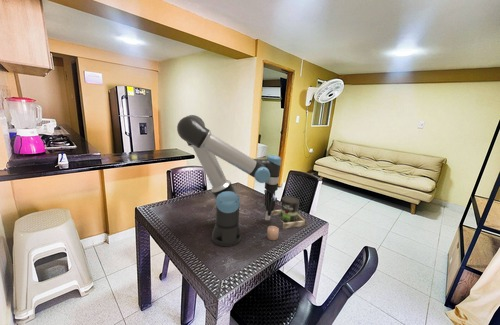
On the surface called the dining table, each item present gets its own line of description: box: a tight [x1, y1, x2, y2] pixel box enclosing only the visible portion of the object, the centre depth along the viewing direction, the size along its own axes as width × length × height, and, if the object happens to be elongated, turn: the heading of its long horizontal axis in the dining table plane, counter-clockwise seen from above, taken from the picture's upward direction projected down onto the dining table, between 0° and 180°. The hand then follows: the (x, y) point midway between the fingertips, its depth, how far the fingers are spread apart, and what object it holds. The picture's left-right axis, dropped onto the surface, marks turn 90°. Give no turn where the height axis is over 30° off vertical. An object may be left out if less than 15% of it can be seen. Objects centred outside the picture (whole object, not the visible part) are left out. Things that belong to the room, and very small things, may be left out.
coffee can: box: [279, 195, 300, 224], centre depth 128 cm, size 10×10×14 cm
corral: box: [271, 209, 307, 230], centre depth 130 cm, size 15×16×3 cm
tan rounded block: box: [266, 225, 280, 241], centre depth 111 cm, size 6×6×5 cm
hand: (267, 219), depth 125 cm, fingers closed
